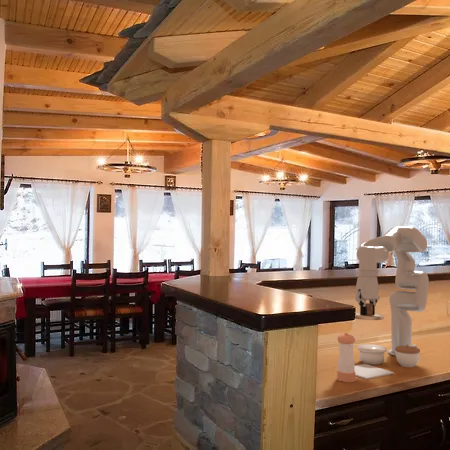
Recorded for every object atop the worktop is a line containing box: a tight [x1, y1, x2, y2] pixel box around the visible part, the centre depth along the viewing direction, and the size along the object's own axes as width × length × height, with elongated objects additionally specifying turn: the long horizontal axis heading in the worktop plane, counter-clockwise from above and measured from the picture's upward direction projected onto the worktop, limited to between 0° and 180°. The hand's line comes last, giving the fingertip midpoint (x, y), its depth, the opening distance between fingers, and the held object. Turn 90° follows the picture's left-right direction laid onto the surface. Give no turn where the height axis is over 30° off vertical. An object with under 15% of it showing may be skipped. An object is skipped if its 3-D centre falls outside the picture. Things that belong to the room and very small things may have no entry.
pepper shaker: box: [336, 332, 356, 383], centre depth 200 cm, size 7×7×19 cm
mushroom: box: [357, 343, 387, 366], centre depth 228 cm, size 13×13×7 cm
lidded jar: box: [395, 345, 421, 368], centre depth 223 cm, size 11×11×9 cm
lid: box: [354, 302, 385, 321], centre depth 217 cm, size 14×14×6 cm
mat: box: [354, 363, 395, 380], centre depth 212 cm, size 17×16×1 cm
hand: (367, 314), depth 217 cm, fingers closed on lid, 4 cm apart
